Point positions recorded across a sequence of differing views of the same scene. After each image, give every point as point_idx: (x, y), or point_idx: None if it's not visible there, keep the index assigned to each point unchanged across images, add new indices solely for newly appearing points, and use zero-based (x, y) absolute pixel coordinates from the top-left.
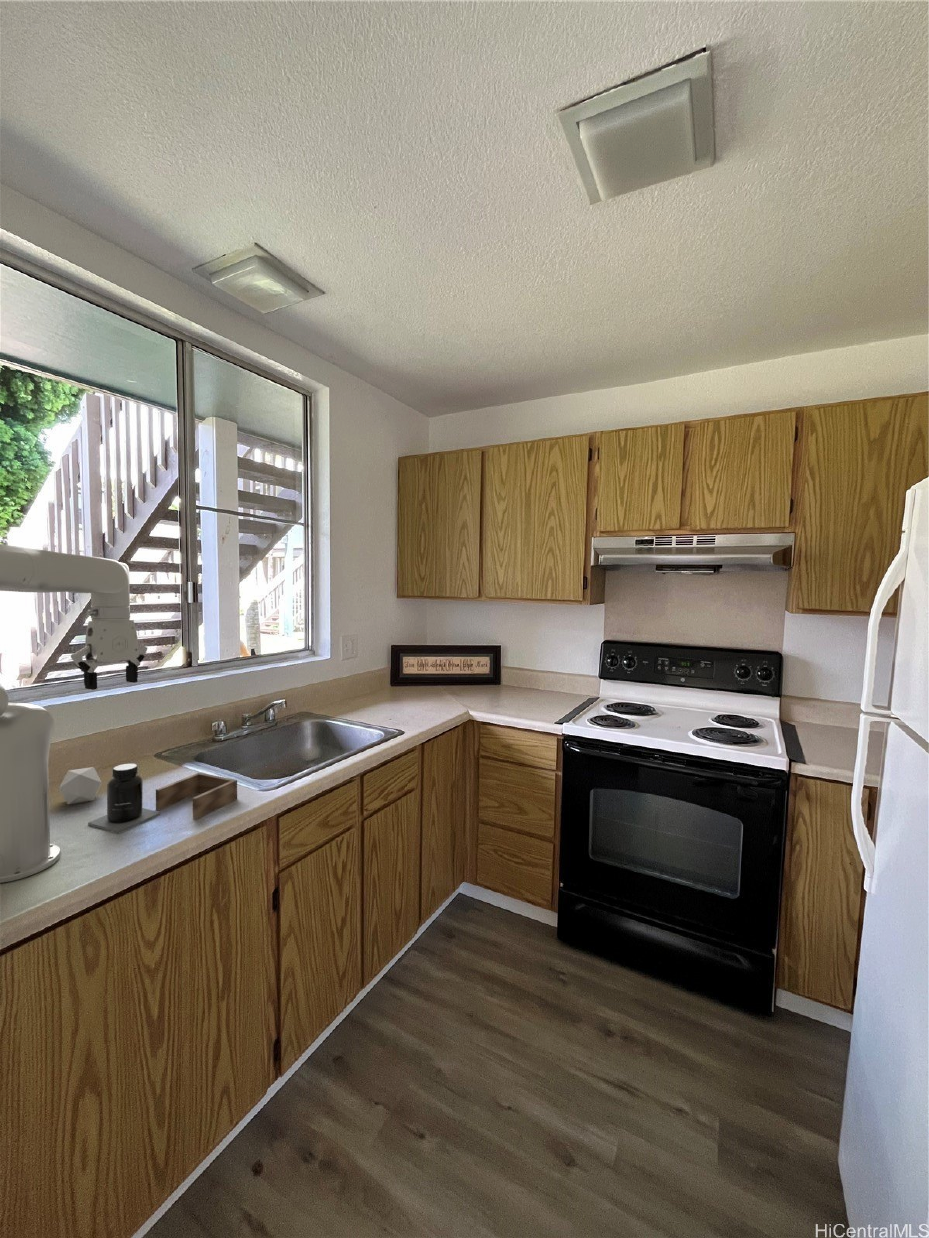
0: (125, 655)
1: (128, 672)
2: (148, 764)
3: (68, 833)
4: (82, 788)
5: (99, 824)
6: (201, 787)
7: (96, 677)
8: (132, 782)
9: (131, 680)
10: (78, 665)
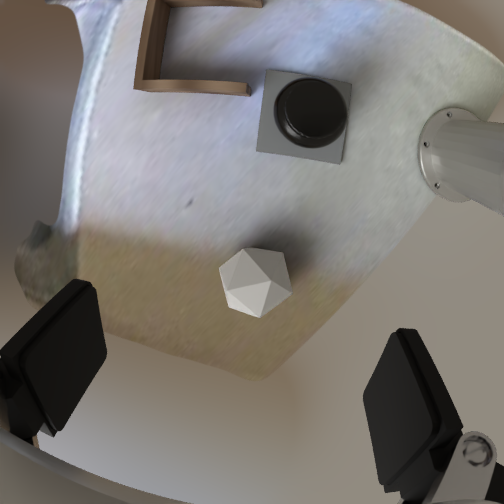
0: None
1: (72, 381)
2: (99, 289)
3: (371, 170)
4: (274, 258)
5: (341, 138)
6: (154, 76)
7: (429, 391)
8: (321, 80)
9: (94, 317)
10: None
